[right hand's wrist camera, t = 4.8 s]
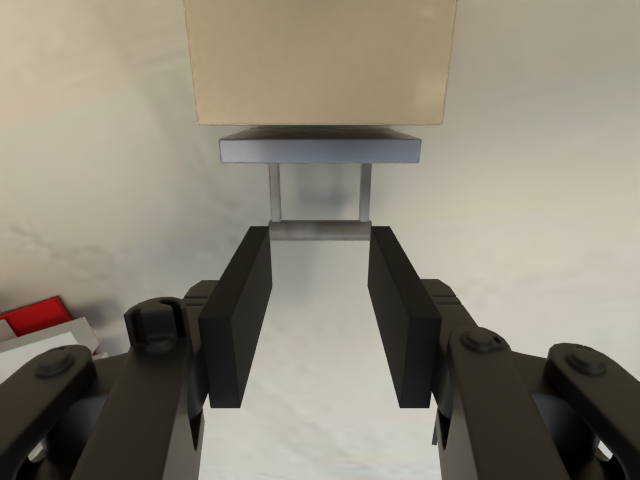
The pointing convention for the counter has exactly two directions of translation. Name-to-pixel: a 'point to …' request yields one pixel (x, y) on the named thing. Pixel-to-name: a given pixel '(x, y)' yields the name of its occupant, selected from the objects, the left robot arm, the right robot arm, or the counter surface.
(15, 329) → the toy
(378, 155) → the drawer
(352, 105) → the cabinet
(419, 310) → the right robot arm
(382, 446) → the counter surface
